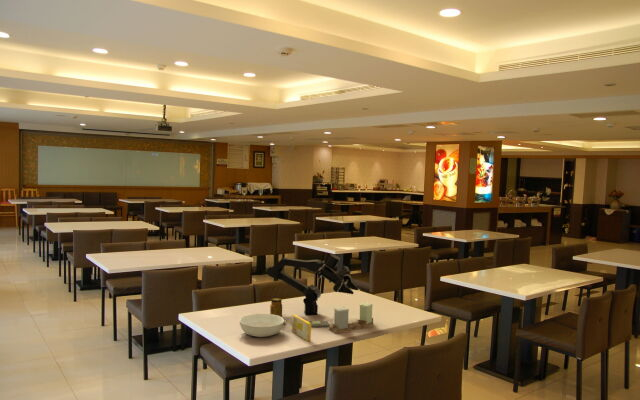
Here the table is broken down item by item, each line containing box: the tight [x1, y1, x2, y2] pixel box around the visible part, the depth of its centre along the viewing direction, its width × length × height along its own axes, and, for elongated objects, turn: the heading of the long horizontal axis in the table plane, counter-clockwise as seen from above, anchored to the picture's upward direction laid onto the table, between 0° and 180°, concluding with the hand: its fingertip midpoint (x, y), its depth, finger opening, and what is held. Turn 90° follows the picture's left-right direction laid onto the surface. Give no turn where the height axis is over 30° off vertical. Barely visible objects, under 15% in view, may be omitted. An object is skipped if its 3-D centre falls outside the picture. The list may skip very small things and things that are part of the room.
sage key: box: [359, 301, 373, 324], centre depth 245 cm, size 4×6×9 cm
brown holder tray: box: [328, 317, 374, 334], centre depth 241 cm, size 25×9×4 cm, turn 127°
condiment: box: [269, 297, 287, 325], centre depth 248 cm, size 7×8×12 cm
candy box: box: [291, 314, 312, 342], centre depth 227 cm, size 16×2×8 cm, turn 30°
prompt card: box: [308, 320, 331, 329], centre depth 244 cm, size 10×7×2 cm
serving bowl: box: [239, 313, 285, 338], centre depth 229 cm, size 21×21×7 cm
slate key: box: [333, 306, 350, 329], centre depth 235 cm, size 4×6×9 cm
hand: (355, 291), depth 256 cm, fingers open, 9 cm apart
